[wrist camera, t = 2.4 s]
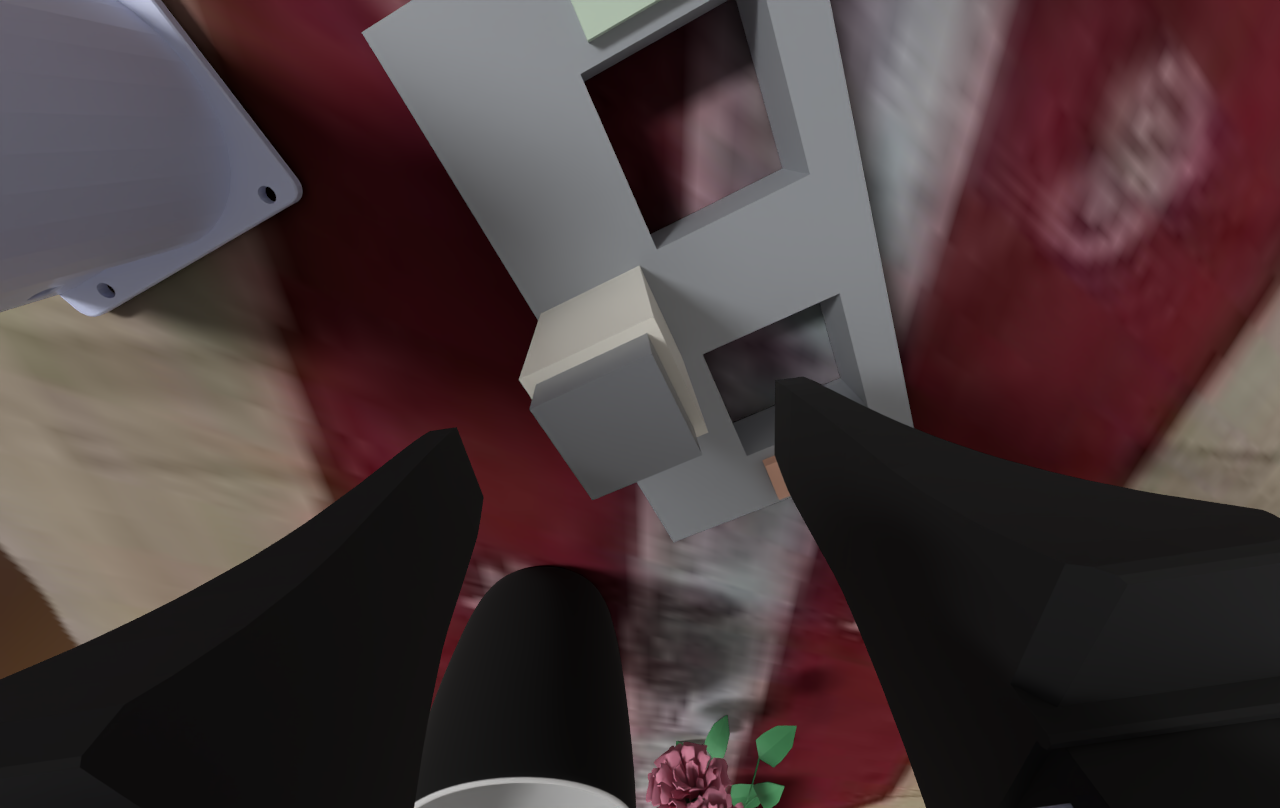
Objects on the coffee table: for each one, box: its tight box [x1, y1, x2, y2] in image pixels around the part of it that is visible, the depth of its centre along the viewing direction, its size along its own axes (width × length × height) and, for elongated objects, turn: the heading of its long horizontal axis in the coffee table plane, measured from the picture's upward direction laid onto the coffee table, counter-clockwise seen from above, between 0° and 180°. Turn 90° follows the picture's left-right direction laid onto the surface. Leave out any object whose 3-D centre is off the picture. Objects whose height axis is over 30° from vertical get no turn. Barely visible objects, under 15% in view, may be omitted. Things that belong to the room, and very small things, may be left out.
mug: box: [414, 566, 636, 808], centre depth 23 cm, size 12×9×10 cm
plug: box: [519, 266, 708, 500], centre depth 14 cm, size 4×4×6 cm
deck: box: [362, 0, 914, 542], centre depth 17 cm, size 11×20×3 cm, turn 25°
